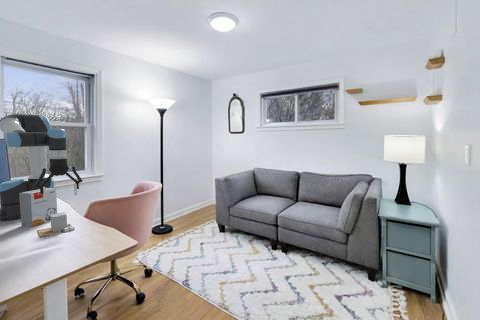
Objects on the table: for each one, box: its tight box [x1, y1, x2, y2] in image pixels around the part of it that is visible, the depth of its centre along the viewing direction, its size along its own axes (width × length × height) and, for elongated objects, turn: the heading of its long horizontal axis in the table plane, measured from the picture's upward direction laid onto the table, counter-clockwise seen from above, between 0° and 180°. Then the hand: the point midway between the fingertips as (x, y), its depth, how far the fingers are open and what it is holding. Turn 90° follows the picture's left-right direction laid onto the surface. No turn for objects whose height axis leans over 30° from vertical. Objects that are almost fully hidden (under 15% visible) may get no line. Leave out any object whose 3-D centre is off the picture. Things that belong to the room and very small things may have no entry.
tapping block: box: [50, 211, 68, 232], centre depth 128 cm, size 6×6×8 cm
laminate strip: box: [59, 223, 73, 234], centre depth 130 cm, size 12×6×1 cm, turn 46°
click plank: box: [36, 227, 61, 239], centre depth 125 cm, size 12×8×1 cm, turn 46°
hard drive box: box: [19, 187, 58, 228], centre depth 139 cm, size 16×8×20 cm, turn 168°
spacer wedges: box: [64, 225, 76, 233], centre depth 127 cm, size 2×4×2 cm, turn 136°
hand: (60, 197), depth 130 cm, fingers open, 13 cm apart
